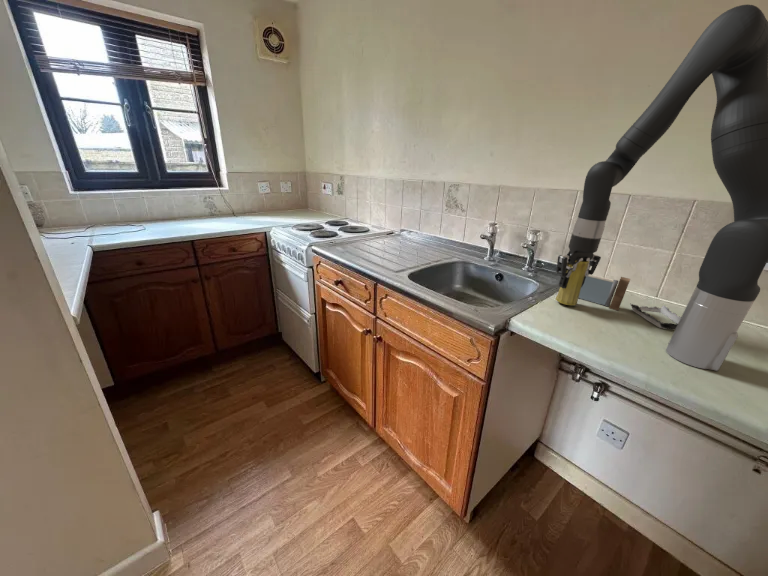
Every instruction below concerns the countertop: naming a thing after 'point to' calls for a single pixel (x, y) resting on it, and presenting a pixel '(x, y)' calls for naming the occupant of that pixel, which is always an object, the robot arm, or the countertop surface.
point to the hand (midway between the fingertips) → (570, 286)
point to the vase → (573, 285)
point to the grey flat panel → (598, 289)
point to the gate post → (619, 293)
